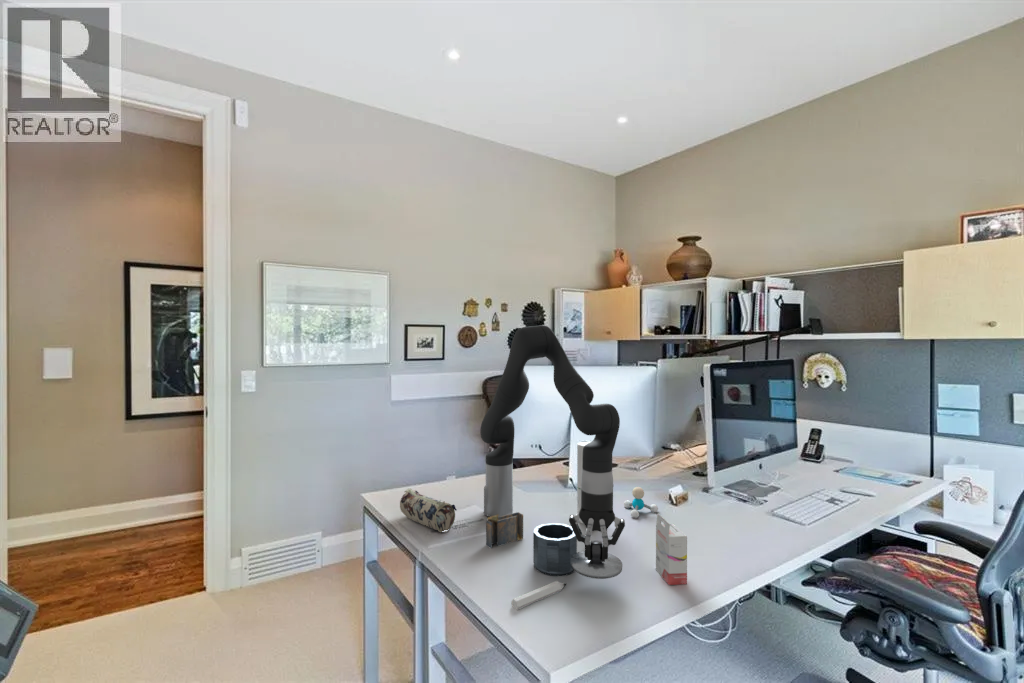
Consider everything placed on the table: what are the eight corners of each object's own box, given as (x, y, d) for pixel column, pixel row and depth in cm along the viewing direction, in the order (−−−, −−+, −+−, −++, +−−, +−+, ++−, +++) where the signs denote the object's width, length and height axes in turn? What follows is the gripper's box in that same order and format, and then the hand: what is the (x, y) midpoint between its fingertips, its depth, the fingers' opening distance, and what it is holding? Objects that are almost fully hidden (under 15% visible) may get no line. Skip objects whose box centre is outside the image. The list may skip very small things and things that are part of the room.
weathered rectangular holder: (491, 550, 136) (491, 516, 136) (486, 546, 139) (486, 512, 139) (524, 540, 143) (524, 508, 143) (518, 537, 145) (518, 505, 145)
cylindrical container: (599, 525, 154) (599, 446, 154) (576, 523, 155) (576, 445, 155) (599, 516, 161) (599, 442, 161) (577, 515, 162) (578, 441, 162)
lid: (568, 575, 111) (568, 551, 110) (572, 552, 122) (572, 530, 122) (623, 581, 108) (623, 557, 108) (621, 556, 120) (621, 534, 120)
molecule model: (615, 508, 170) (615, 483, 170) (645, 504, 174) (645, 480, 174) (633, 520, 159) (632, 493, 159) (664, 516, 162) (664, 490, 162)
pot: (529, 576, 120) (529, 540, 120) (538, 552, 134) (538, 519, 134) (574, 580, 118) (574, 544, 118) (578, 555, 132) (578, 522, 132)
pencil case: (458, 529, 151) (458, 498, 151) (436, 537, 145) (436, 504, 144) (418, 511, 166) (418, 483, 166) (396, 518, 160) (396, 489, 160)
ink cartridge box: (688, 585, 116) (688, 524, 116) (668, 585, 116) (668, 524, 116) (673, 568, 125) (673, 511, 125) (654, 568, 124) (655, 512, 124)
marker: (567, 590, 116) (515, 612, 106) (562, 583, 117) (510, 604, 107) (571, 583, 115) (519, 605, 105) (566, 575, 116) (514, 596, 106)
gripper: (566, 490, 113) (565, 564, 113) (627, 495, 110) (626, 570, 110) (568, 481, 120) (568, 549, 120) (626, 485, 117) (625, 555, 118)
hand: (596, 559), depth 115 cm, fingers closed on lid, 3 cm apart
